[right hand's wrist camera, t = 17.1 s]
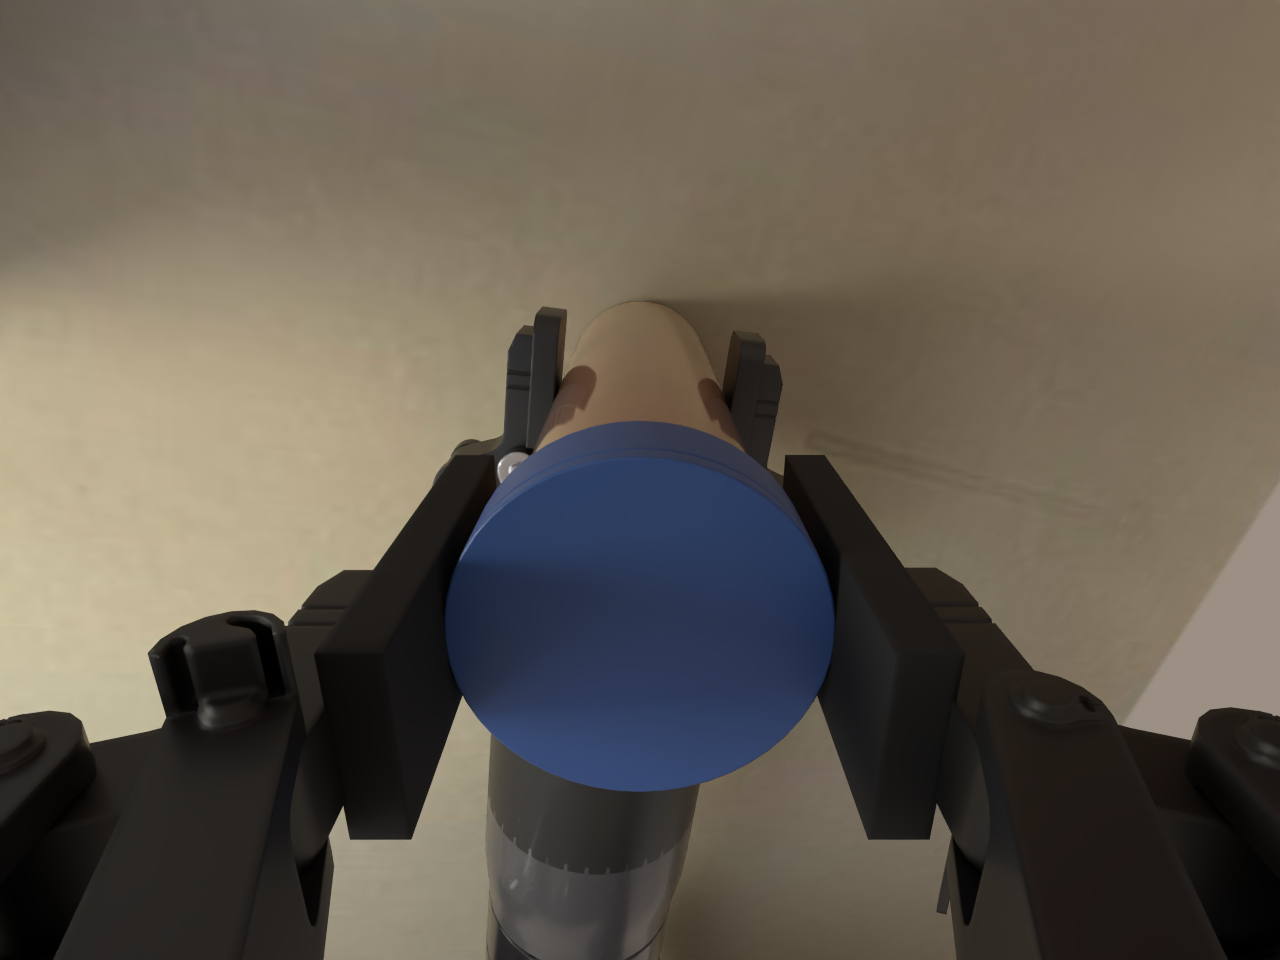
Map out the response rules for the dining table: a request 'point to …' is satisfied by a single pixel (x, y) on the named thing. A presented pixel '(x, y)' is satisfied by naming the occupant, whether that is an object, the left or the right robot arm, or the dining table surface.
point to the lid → (639, 609)
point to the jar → (639, 377)
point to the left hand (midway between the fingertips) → (649, 326)
